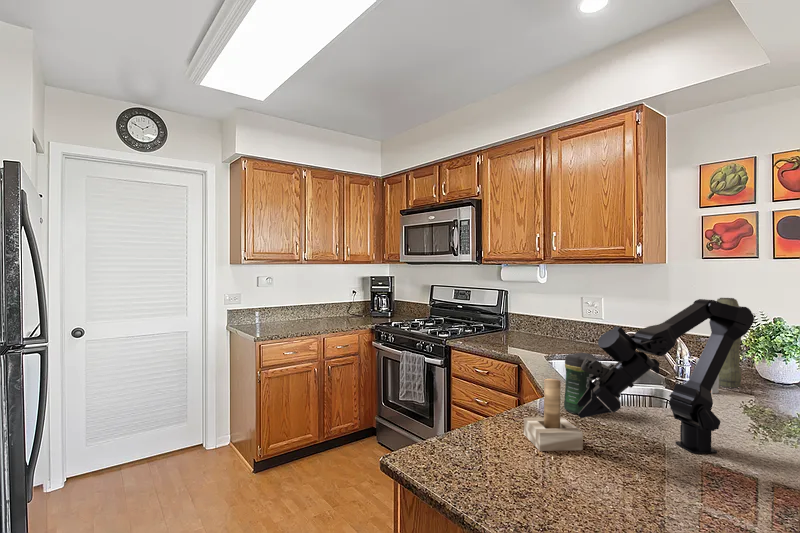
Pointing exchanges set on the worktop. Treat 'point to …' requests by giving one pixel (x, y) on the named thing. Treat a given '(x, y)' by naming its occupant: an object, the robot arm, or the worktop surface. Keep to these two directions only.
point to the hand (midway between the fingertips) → (578, 410)
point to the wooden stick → (552, 403)
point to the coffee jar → (575, 381)
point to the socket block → (553, 435)
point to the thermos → (731, 358)
